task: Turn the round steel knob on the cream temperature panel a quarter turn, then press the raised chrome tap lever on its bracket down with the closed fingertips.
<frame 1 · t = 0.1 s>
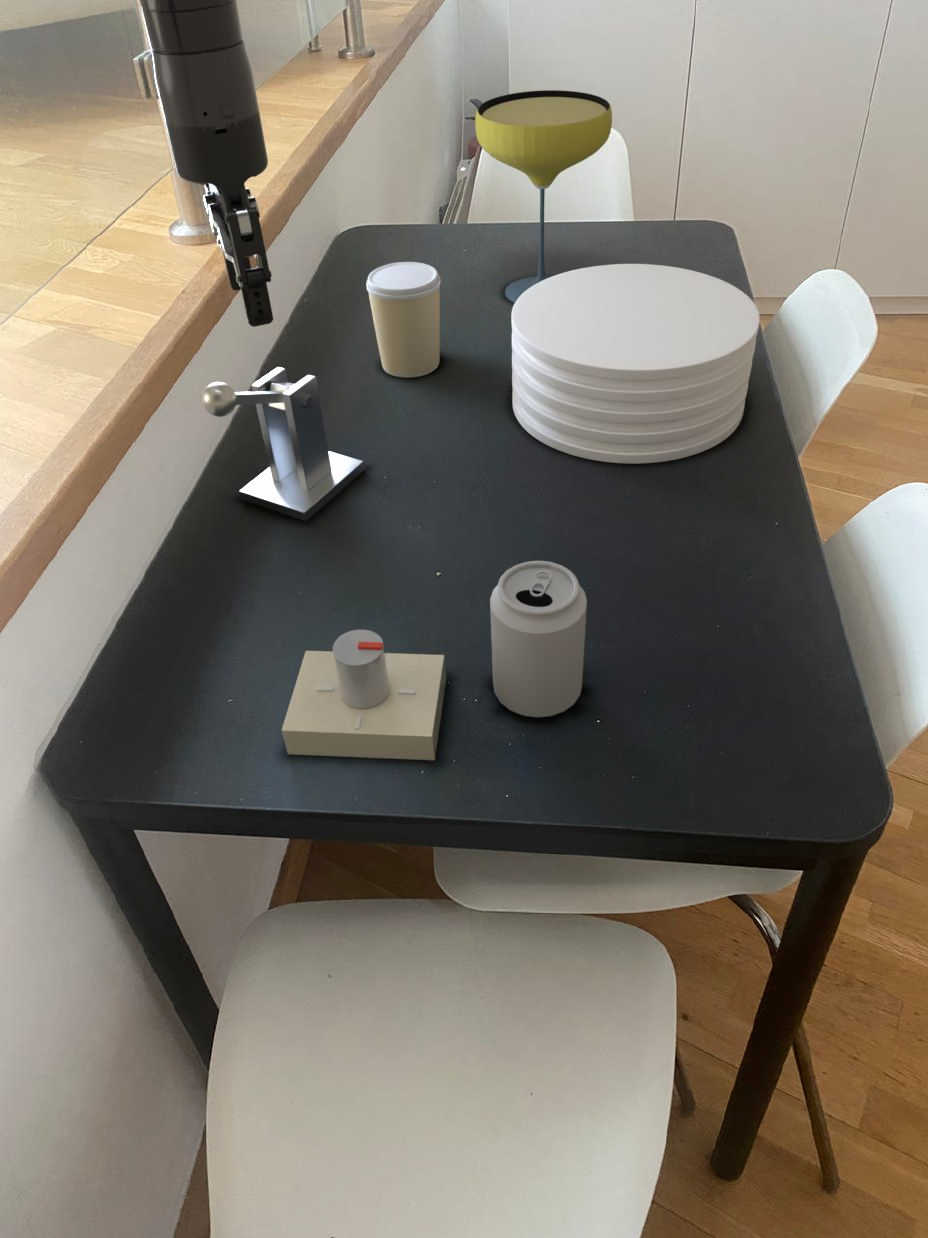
hand: (251, 305, 84), 23 cm above the table, tool pointing down, fingers open, 8 cm apart
dial: (361, 667, 73), point 6 cm above the table, hinge at 0.0°
coffee cup: (411, 365, 123), on the table
tap lever: (253, 397, 91), point 13 cm above the table, hinge at 25.0°
tap bracket: (303, 484, 103), on the table
cocktail glass: (541, 293, 138), on the table
plate stack: (625, 402, 113), on the table
can: (537, 692, 78), on the table
temp panel: (369, 715, 77), on the table
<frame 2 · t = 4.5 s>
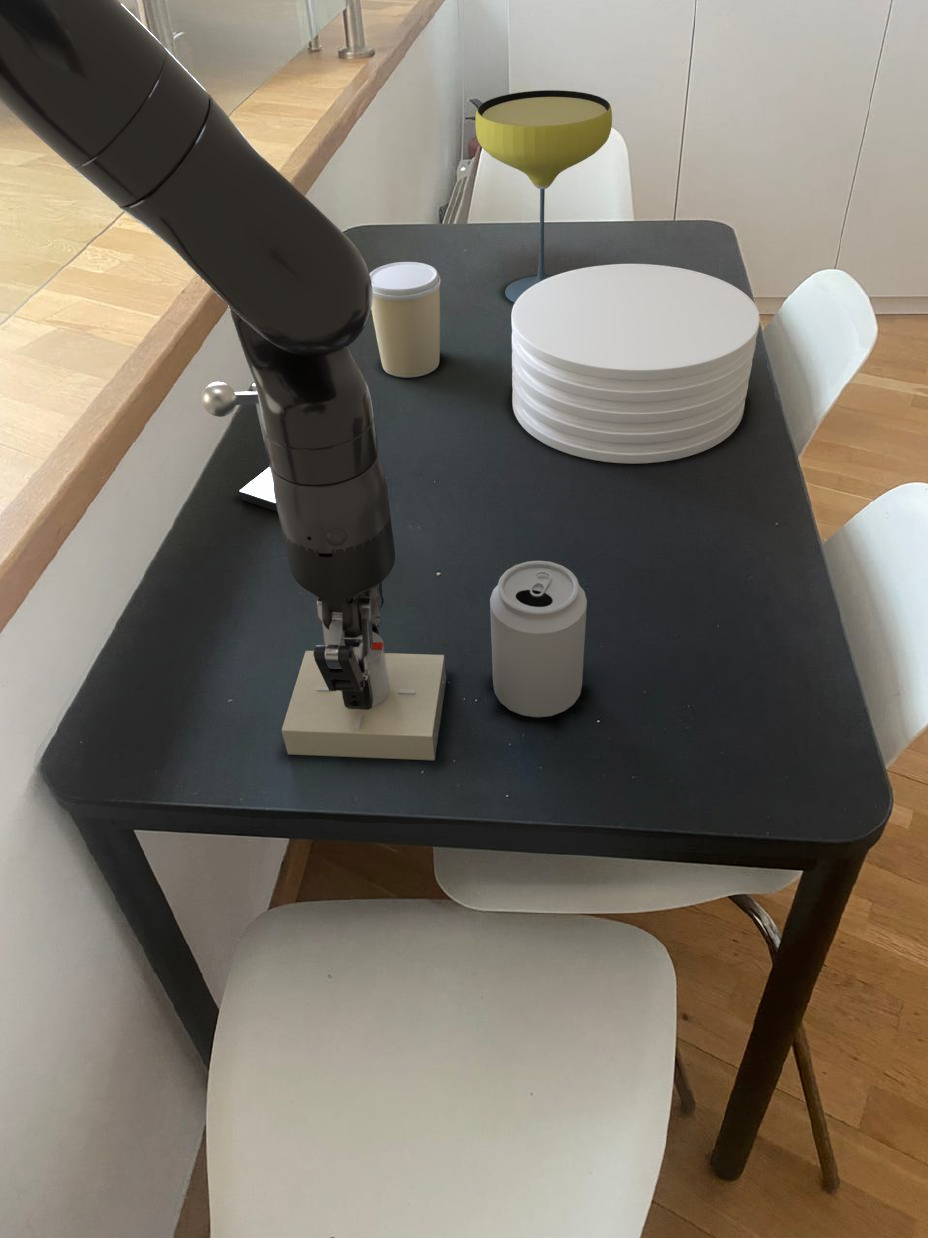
hand: (364, 684, 74), 4 cm above the table, tool pointing down, fingers closed on dial, 4 cm apart
dial: (361, 667, 73), point 6 cm above the table, hinge at 0.1°, touching gripper
everything else where it was.
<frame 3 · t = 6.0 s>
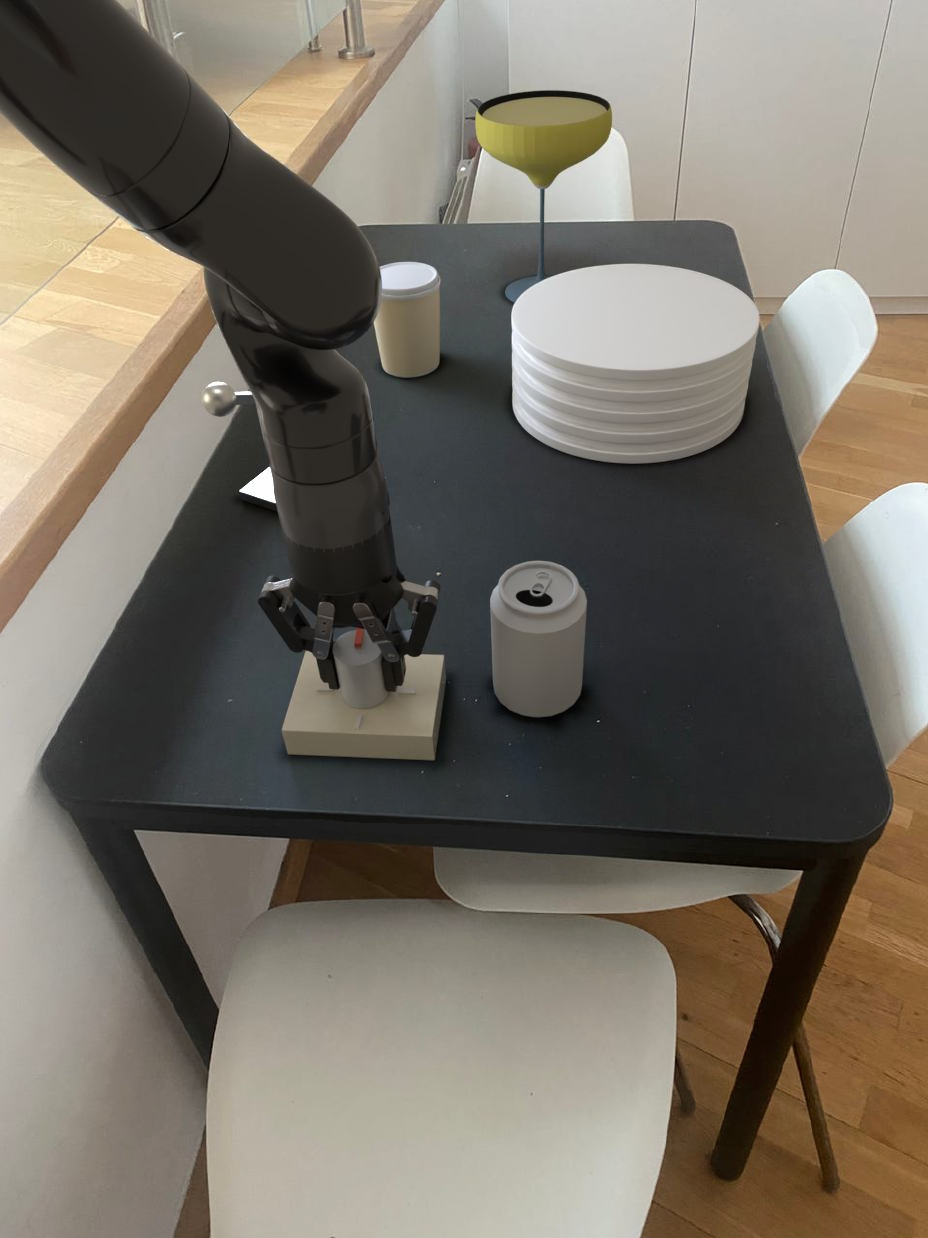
hand: (365, 682, 75), 4 cm above the table, tool pointing down, fingers closed on dial, 4 cm apart
dial: (361, 667, 73), point 6 cm above the table, hinge at 93.4°, touching gripper
everything else where it was.
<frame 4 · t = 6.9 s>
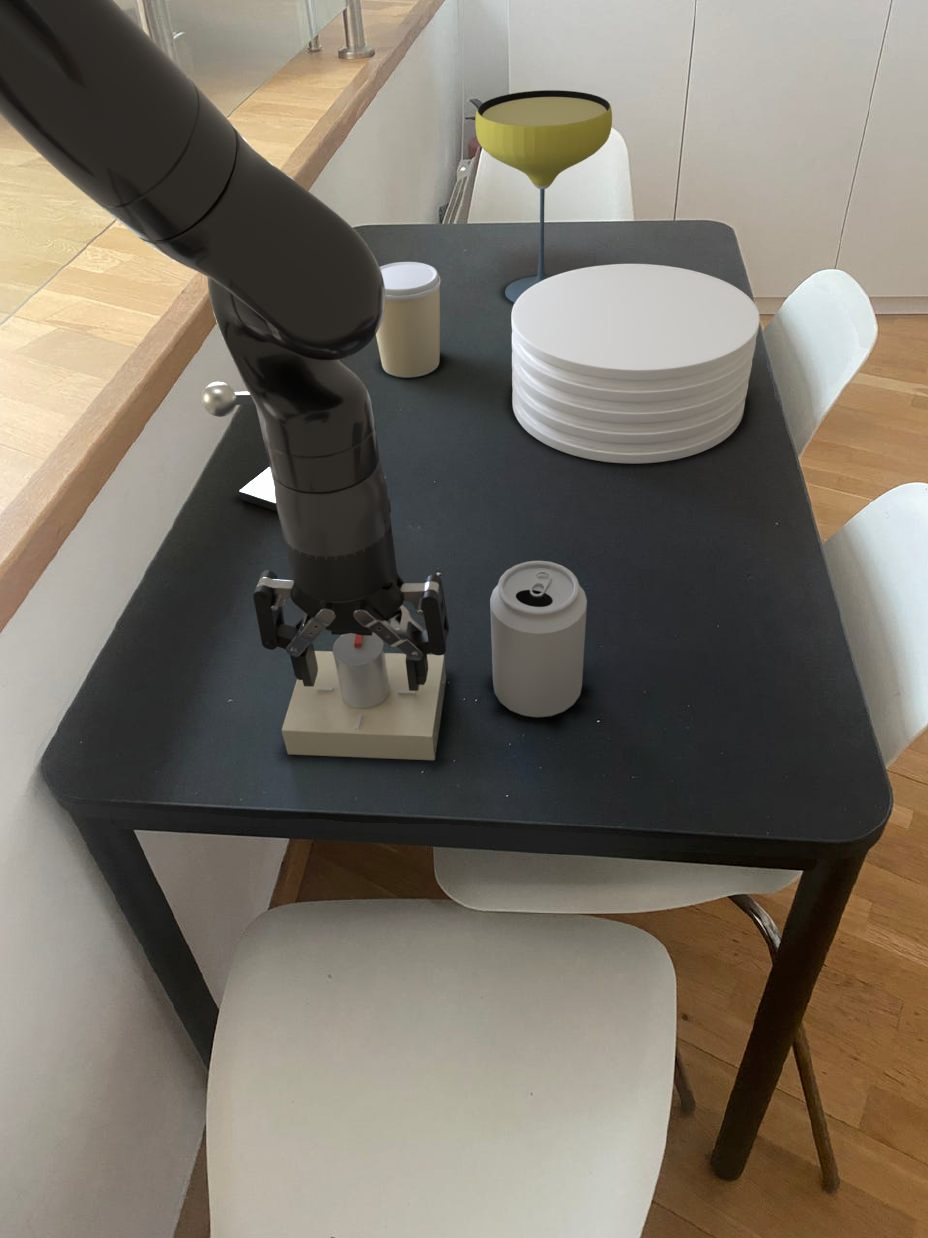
hand: (363, 681, 74), 4 cm above the table, tool pointing down, fingers open, 8 cm apart
dial: (361, 667, 73), point 6 cm above the table, hinge at 93.8°
everything else where it was.
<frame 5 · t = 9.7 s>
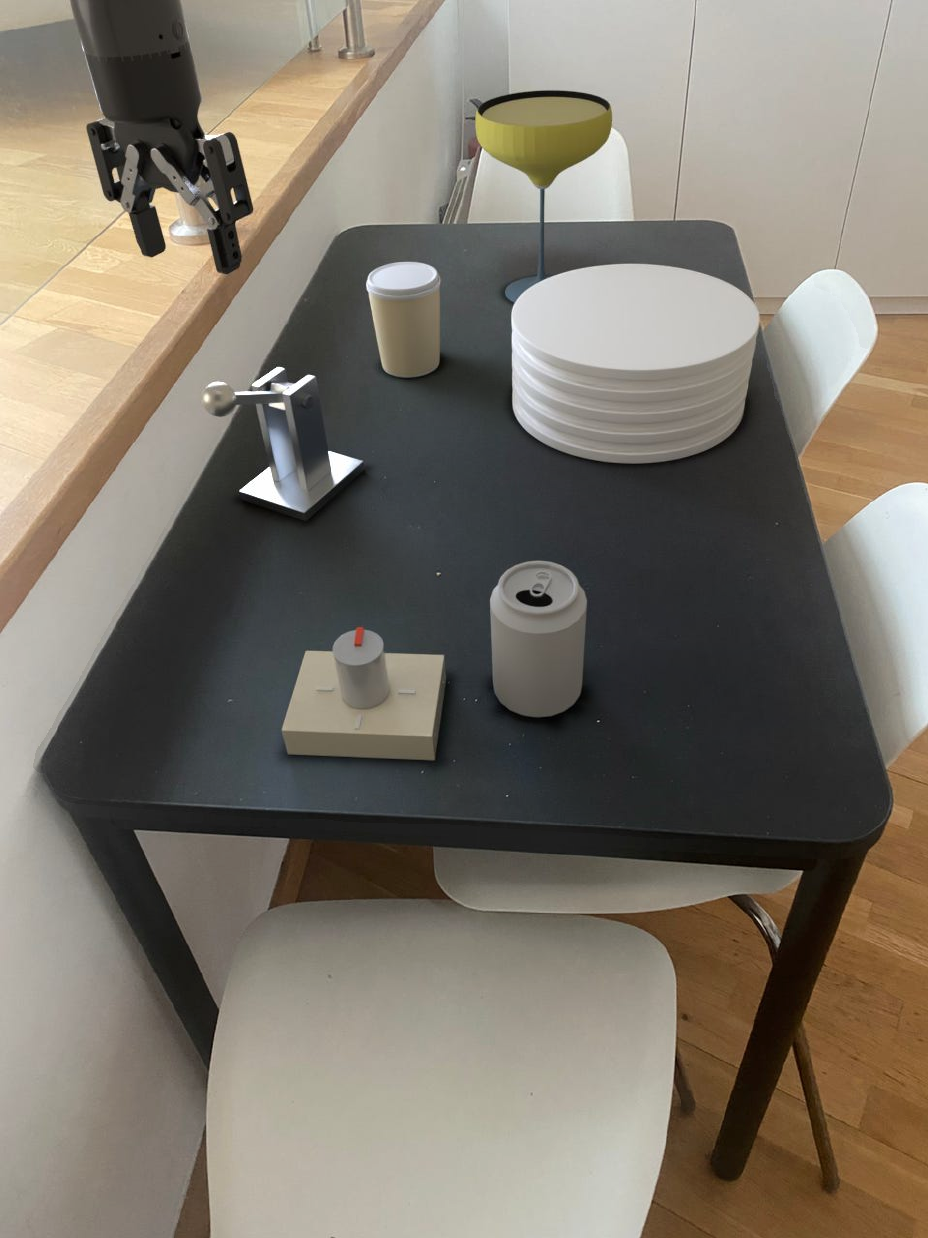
hand: (191, 262, 78), 28 cm above the table, tool pointing down, fingers open, 8 cm apart
nothing on the table moved.
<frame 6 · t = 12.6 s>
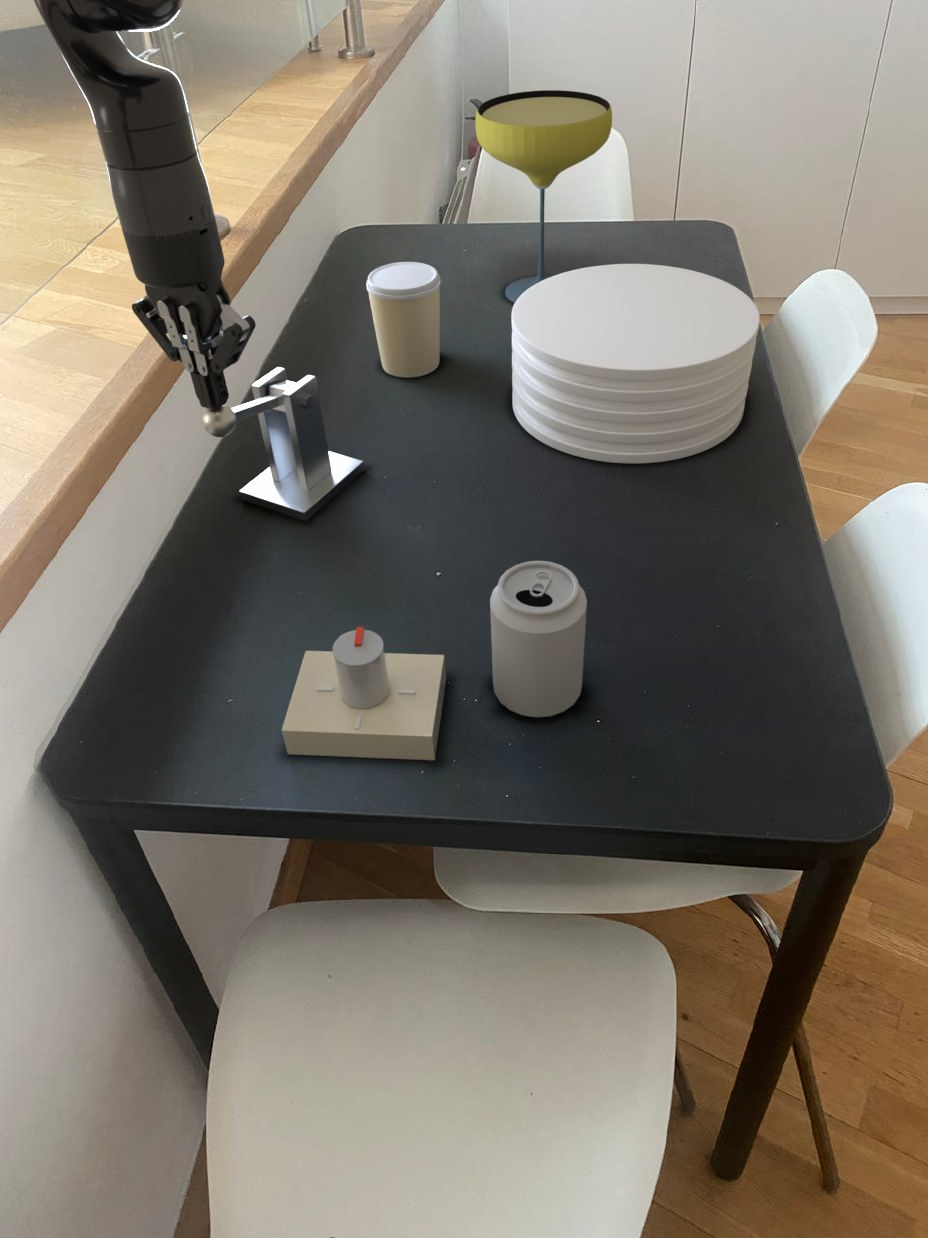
hand: (215, 404, 87), 15 cm above the table, tool pointing down, fingers closed
tap lever: (253, 407, 92), point 12 cm above the table, hinge at 13.5°, touching gripper
everything else where it was.
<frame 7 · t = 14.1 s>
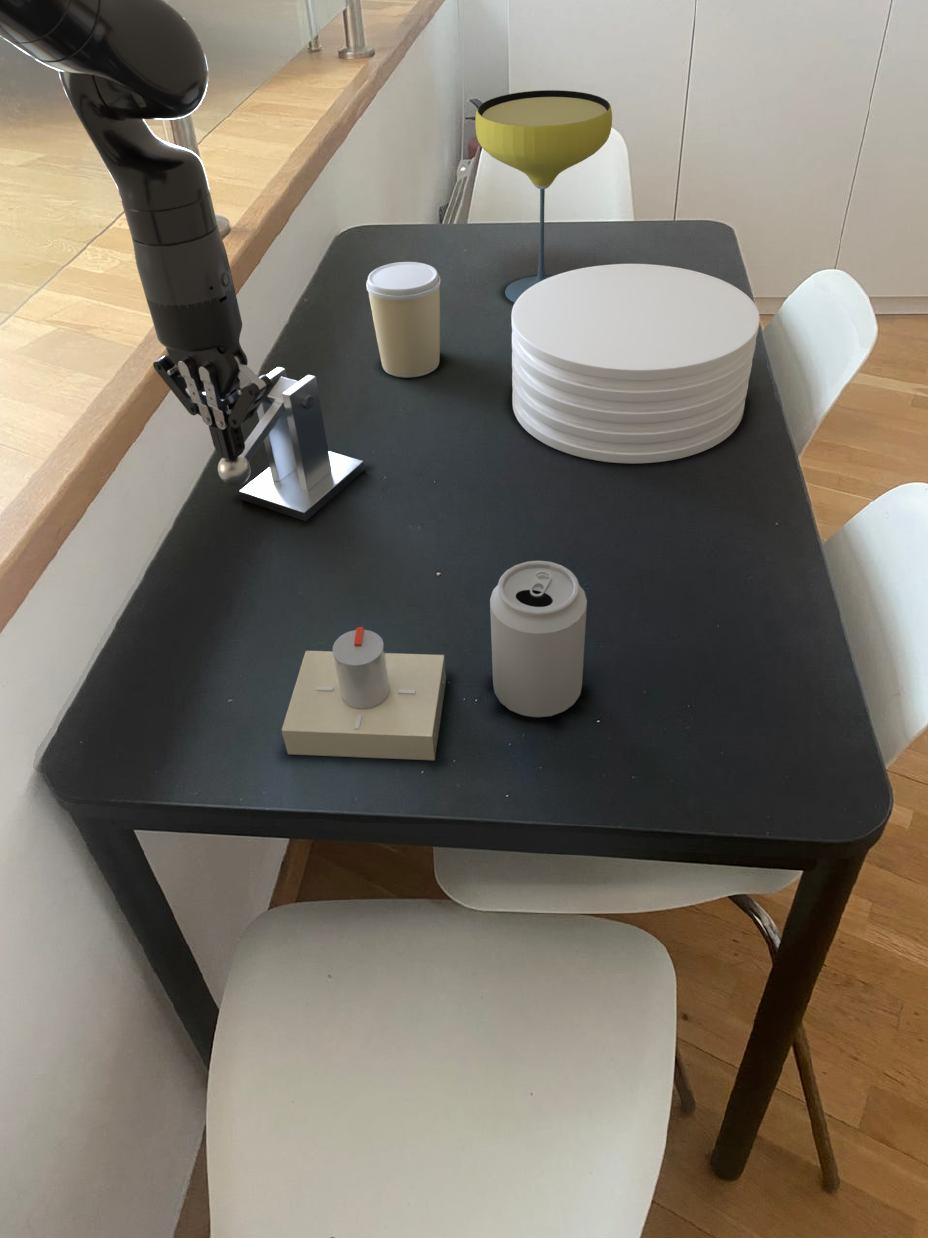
hand: (232, 455, 91), 9 cm above the table, tool pointing down, fingers closed
tap lever: (260, 432, 94), point 9 cm above the table, hinge at -20.0°, touching gripper
everything else where it was.
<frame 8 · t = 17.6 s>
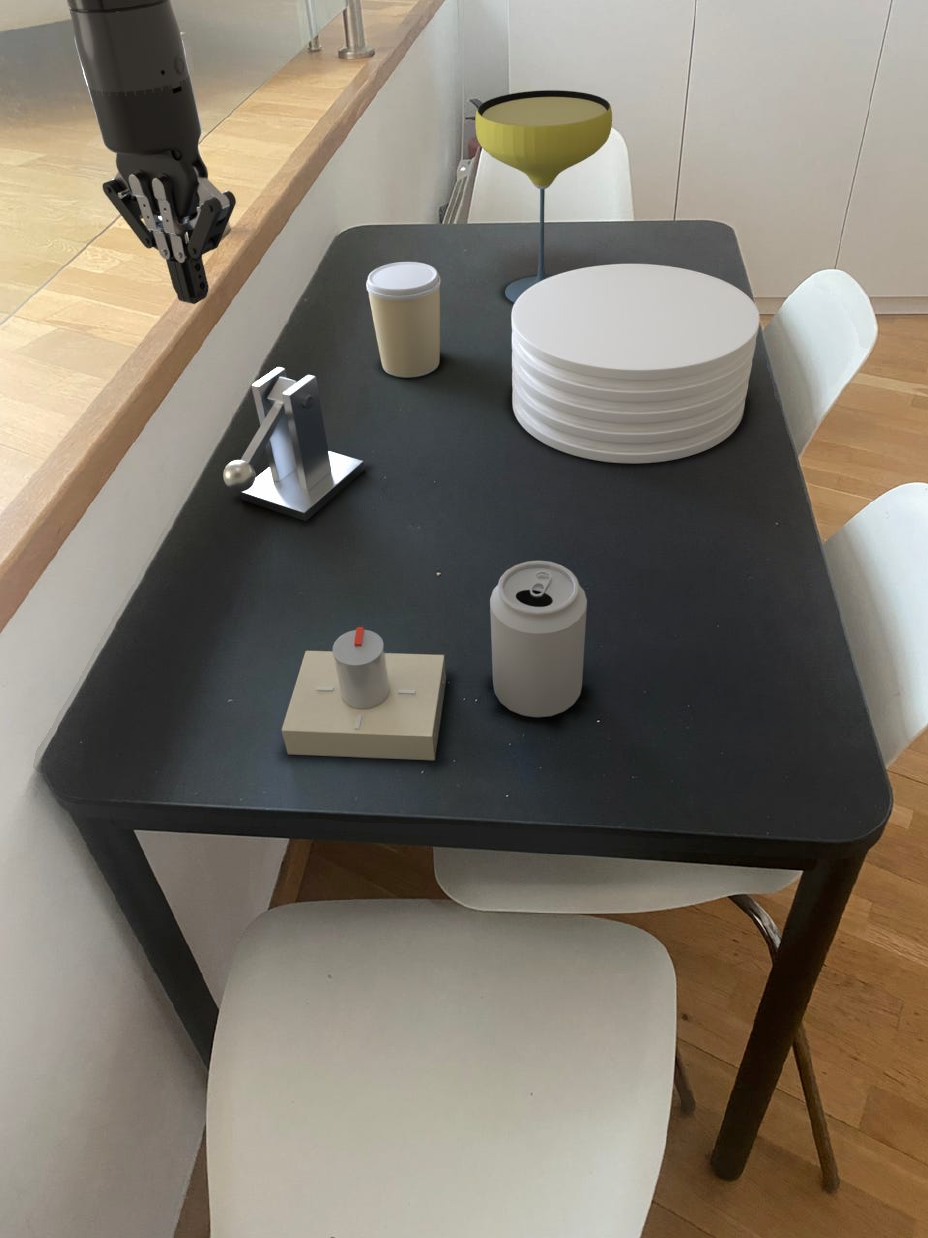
hand: (194, 299, 80), 25 cm above the table, tool pointing down, fingers closed
tap lever: (262, 436, 94), point 9 cm above the table, hinge at -26.5°
everything else where it was.
at the end: dial at +94° (first picture: +0°); tap lever at -26° (first picture: +25°) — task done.
